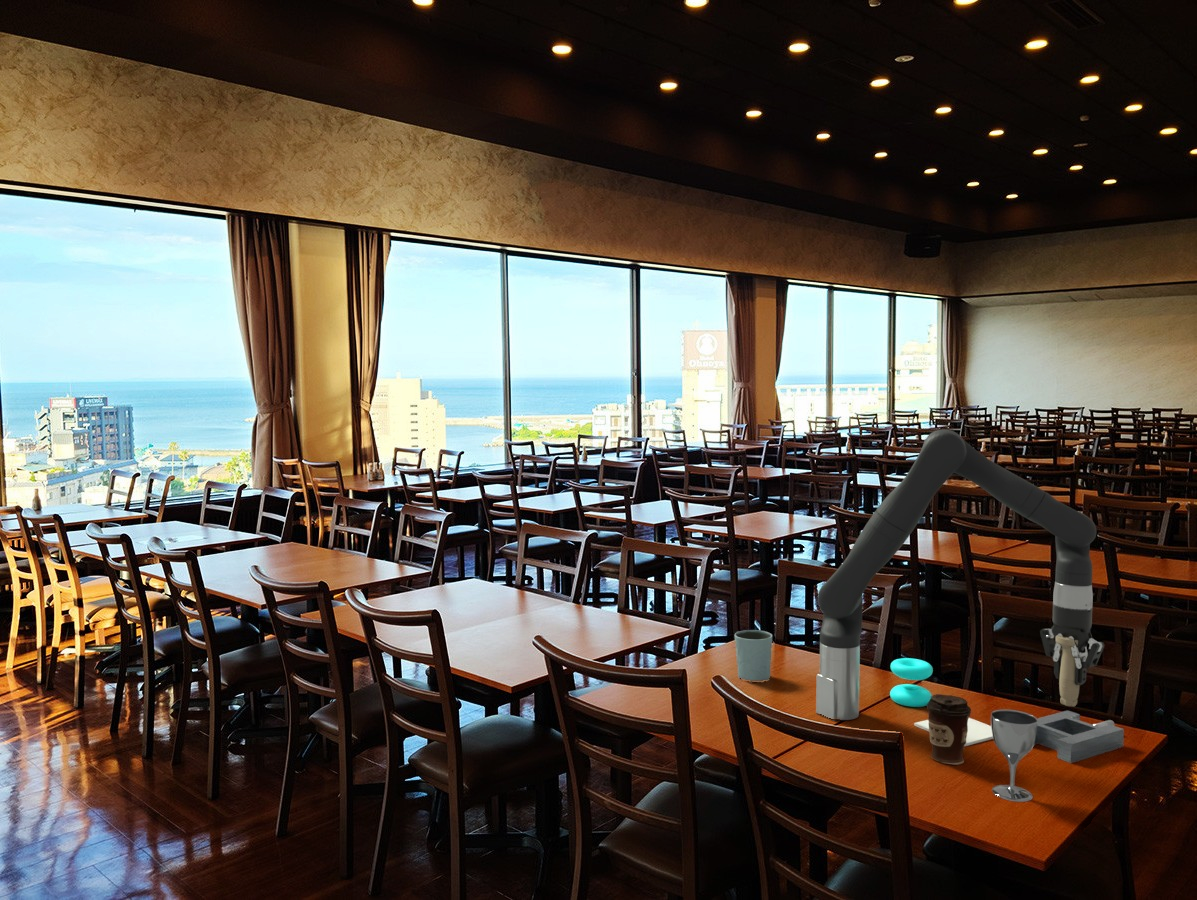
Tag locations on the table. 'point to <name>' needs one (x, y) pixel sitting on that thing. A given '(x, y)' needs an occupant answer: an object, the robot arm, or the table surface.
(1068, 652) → the handle
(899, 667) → the donuts
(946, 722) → the coffee cup
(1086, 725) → the vise
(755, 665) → the grey-green tapered cup
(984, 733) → the mat
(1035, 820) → the table surface
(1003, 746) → the wine glass
